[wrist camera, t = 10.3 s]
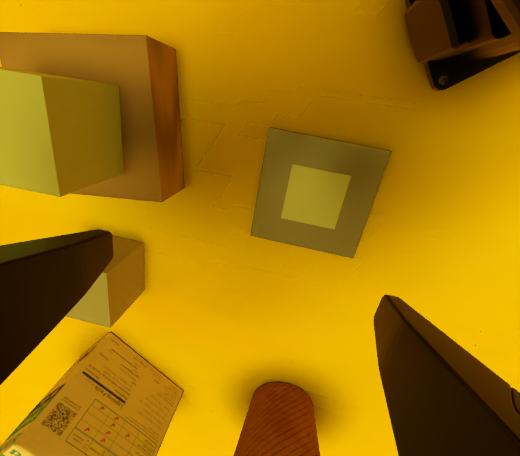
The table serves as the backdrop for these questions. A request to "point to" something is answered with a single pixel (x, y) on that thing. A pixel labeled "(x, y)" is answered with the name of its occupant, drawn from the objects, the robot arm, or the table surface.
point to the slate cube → (114, 285)
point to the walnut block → (131, 100)
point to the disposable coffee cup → (279, 423)
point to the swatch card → (316, 191)
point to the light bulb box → (100, 408)
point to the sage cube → (57, 132)
